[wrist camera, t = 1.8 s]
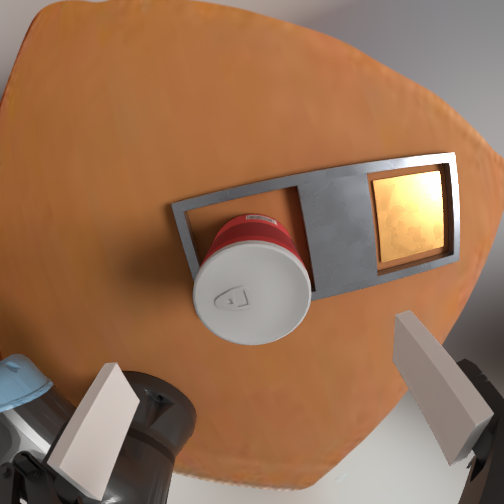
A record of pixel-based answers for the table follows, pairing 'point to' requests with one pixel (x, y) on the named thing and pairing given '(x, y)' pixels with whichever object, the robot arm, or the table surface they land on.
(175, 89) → the table surface
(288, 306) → the canned food
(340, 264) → the rail frame
